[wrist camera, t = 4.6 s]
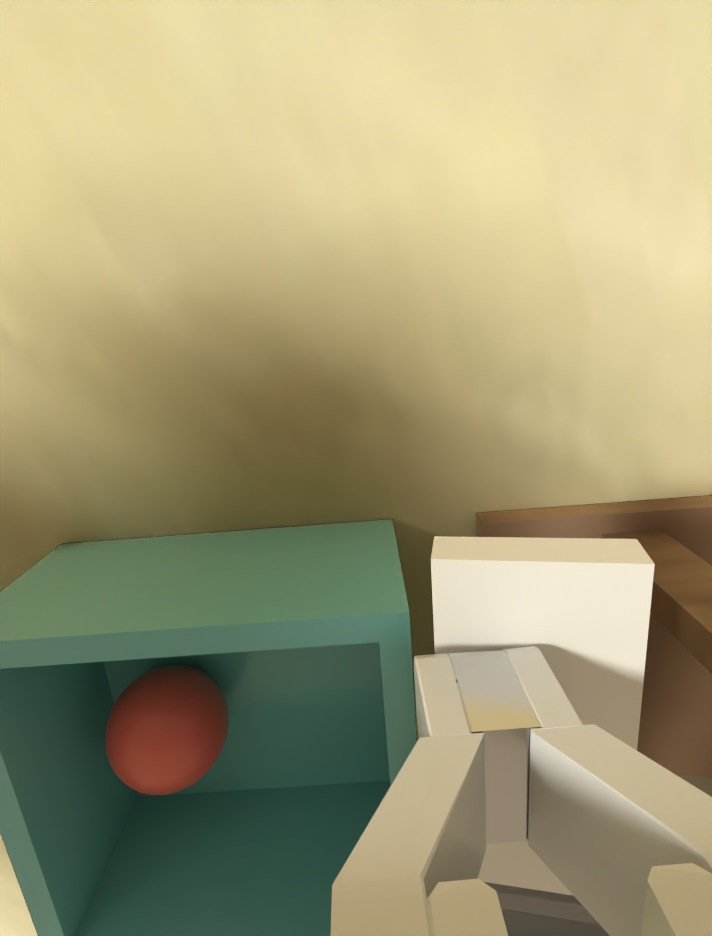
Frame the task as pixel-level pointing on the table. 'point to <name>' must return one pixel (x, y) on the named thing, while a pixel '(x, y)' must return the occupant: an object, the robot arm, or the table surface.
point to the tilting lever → (551, 666)
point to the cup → (249, 730)
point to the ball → (166, 729)
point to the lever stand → (654, 611)
